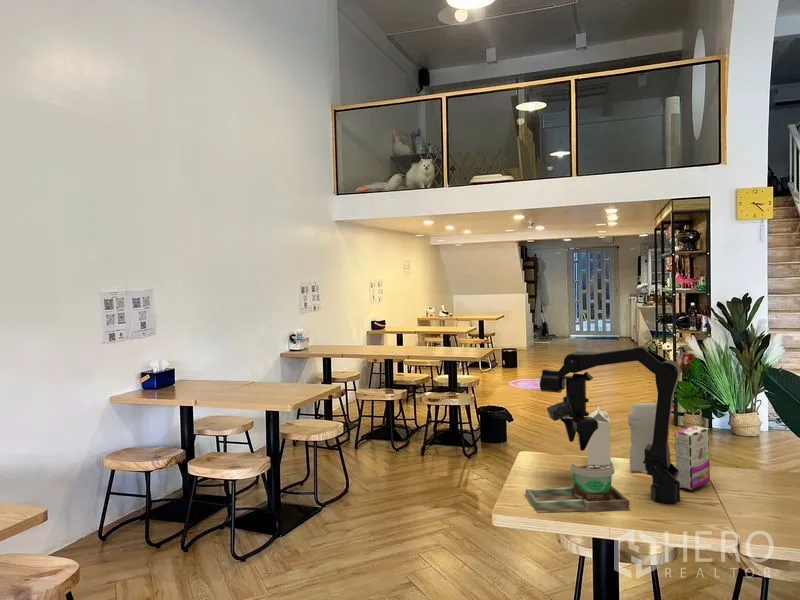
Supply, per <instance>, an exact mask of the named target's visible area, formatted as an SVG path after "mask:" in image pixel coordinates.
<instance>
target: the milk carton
mask: <svg viewBox="0 0 800 600" xmlns="http://www.w3.org/2000/svg"><path fill="white" fill-rule="evenodd" d="M599 406H600V405H597V409H596V410H594V411H593V412H591V413H590V414H589V416H587V417H592V418H593V419H595V420H596V421H597V422H598V429H596V431H594V433H593V435H592V436H591V438H590V440H589V442H588V444H587V465H610V462H612V460H611V420H610V417H609V416H610V415H609V413H608V412H606V411H605V410H603V411H602V410H601V409H599Z"/></svg>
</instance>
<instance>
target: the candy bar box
mask: <svg viewBox="0 0 800 600" xmlns="http://www.w3.org/2000/svg"><path fill="white" fill-rule="evenodd" d="M709 429H710V428H709V427H703V426H698V425H692V426H689V427H686V428H684V429H681V430H678V431H675V432H674V441H675V442H674V444H675V446H674V447H675V449H674V450H675V467H676V468H677V469H678V470H679V473H678V476H677V479H676V480H677V481H679V482H680V489H681V488H682V489H685V490H686V489H687V490H689V491H693V490H696V489H697V488H700V487H701V486H704V485H705V484H707V483H709V482H711V480H710V479H711V474H710V471H711V470H710V436H709V435H710V433H709V432H710V430H709Z"/></svg>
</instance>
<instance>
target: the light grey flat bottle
mask: <svg viewBox="0 0 800 600" xmlns="http://www.w3.org/2000/svg"><path fill="white" fill-rule="evenodd" d="M631 407H632V408H631V411H630V413H628V415H627V416H628V417H627V421H628V426H629V427H630V428H629V431H630V443H631V444H630V448H629V471H630V472H632V473H633V472H634V473H645V474H646V473H648V472H647V471H646V468H645V464H646V463H645V464H643V462H644V459H645V448H646V446H647V445H648V444H650V445H652V443H653V435H654V425H655V416H656V407H657V403H650V402H641V403H640V402H639V403H634V404H632V406H631ZM648 474H649V473H648Z"/></svg>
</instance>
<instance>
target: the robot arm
mask: <svg viewBox="0 0 800 600" xmlns="http://www.w3.org/2000/svg"><path fill="white" fill-rule="evenodd" d="M636 361H637V362H639V363H640V364H641V365H642V366H644V367H645V368H646V369H647V370H649V371H650V372H651V373H652V374H654V375H655V385H656V391H657V397H656V398H657V399H656V404H657V407H656V416H655V425H654V435H653V443H652V445H650V444H648V445H647V446H646V448H645V459H644V462H643V464H645V463H646V464H645V468H646V471H647V472H648V474H649V475H650V476H651V478H652V479H651V480H652V481H651V482H652V483H651V484H650V499H651V501H653V502H654V503H655V504H656V503H657V504H664V505H675V504H677V503H680V502H681V487H680V482H679V481H677V480H676V479H677V476H678V473H679V470H678V469H677V468H676V465H674V464H673V463H672V462H671V451H670V446H669V437H670V428H671V418H672V410H673V409H672V408H673V401H674V400H673V399H674V394H675V390H676V388H677V385H678V381H679V379H680V375H681V373H682V372H681V371H682V370H681V366H680V365H679V364H678V362H677V361H676V360H675V361H674V360H672V359H666V358H664V357H663V356H662V355H660V354H658V353H656V352H655V351H652V350H651V349H649V348H648V347H646V346H645V345H638V346H633V347H627V348H626V347H625V348H619V349H613V350H607V351H600V352H597V351H596V352H594V351H593V352H592V351H574V352H572V353H569V354H567V355H566V356H565V357H564V359H563V365H562V366H561V368H560V369H559V370H552V369H545V368H544V369H542V371H541V375H540V379H539V389H540V391H541V392H543V393H544V392H545V393H554V394H555V393H556V394H558V393H559V394H560V393H562V391H564V390H565V395H564V396H563V397H562V402H558V403H556V404H552V405H551V406H548V407H546V410H547V413H548V416H549V419H551V421H554V422H556V421H559V420H560V421H561V422H562V423H563V425H564V427H565V430H566V434H567V437H568V441H569V442H570V443H574V442H575V441H574V440H575V437H576V434H577V437H578V445H579V449H580V451H582V452H583V451H585V450H586V447H588V442H589V440H590V438H591V436H592V435H593V433H594V431H596V429H598V422H597V421H596V420H595V419H593V418H592V417H588V416H589V415H590V414H589V412H588V411H587V403H589V398H587V382H588V381H589V382H590V381H592V380H593V379H594V376H592V375H591V374H590V372H588V371H586V370H589V369H591V368H596V367H599V366H604V365H605V366H607V365H615V364H622V363H629V362H636ZM583 371H585V372H584V373H579V372H583ZM569 374H572V375H569Z"/></svg>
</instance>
